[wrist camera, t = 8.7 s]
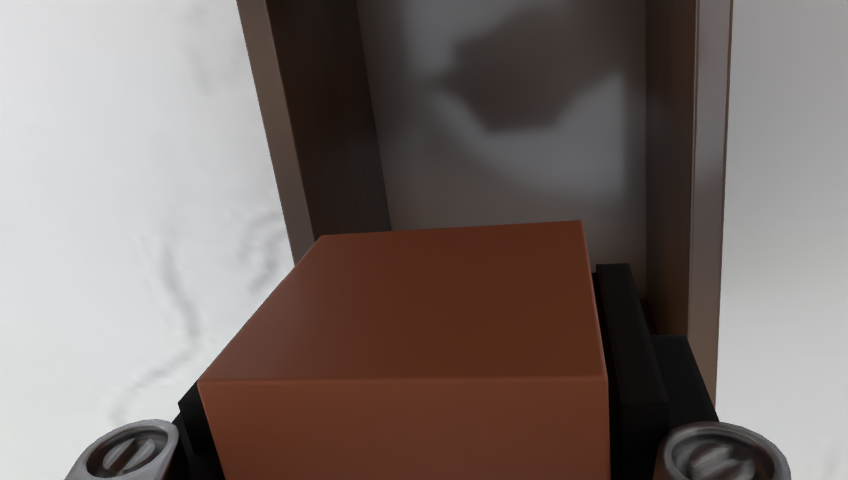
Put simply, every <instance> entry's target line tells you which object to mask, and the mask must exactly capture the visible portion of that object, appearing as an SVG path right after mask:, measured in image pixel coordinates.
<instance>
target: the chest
mask: <svg viewBox="0 0 848 480" xmlns="http://www.w3.org/2000/svg"><path fill="white" fill-rule="evenodd" d="M236 1H237V6H238V10H239V15H240V19H241V24H242V28H243V33H244V37H245V42H246V46H247V51H248V56H249V60H250V65H251V69H252V74H253V78H254V83H255V87H256V92H257V97H258V101H259V106H260V110H261V115H262V119H263V124H264V128H265V133H266V138H267V142H268V147H269V151H270V156H271V160H272V165H273V169H274V174H275V179H276V183H277V188H278V192H279V197H280V201H281V206H282V210H283V215H284V220H285V224H286V229H287V233H288V238H289V242H290V247H291V251H292V256H293V261H294V265H295V266H296V265H297V263H298V262H299V261H300V260H301V259H302V257H303V256H304V255H305V254H306V253H307V252H308V250H309V249H310V248H311V247H312V246H313V245H314V243H315V242H316V241H317V240H318V239H319V238H320V236H322V235H336V234H353V233H370V232H387V231H404V230H420V229H437V228H454V227H471V226H488V225H505V224H522V223H539V222H556V221H573V220H581V221H582V222H583V225H584V231H585V238H586V244H587V250H588V256H589V263H590V269H591V273H594V272H596V264H613V263H629V266H630V269H631V272H632V276H633V279H634V283H635V286H636V290H637V293H638V296H639V300H640V303H641V307H642V310H643V313H644V317H645V320H646V324H647V327H648V331H649V334H650V335H685V336H686V338H687V340H688V342H689V345H690V347H691V350H692V353H693V355H694V358H695V360H696V363H697V365H698V368H699V370H700V373H701V375H702V378H703V381H704V383H705V386H706V388H707V391H708V393H709V396H710V398H711V401H712V404H713V406H714V409H715V405H716V382H717V359H718V337H719V314H720V291H721V269H722V246H723V223H724V201H725V178H726V155H727V133H728V110H729V87H730V65H731V42H732V19H733V0H236Z"/></svg>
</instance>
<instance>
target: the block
mask: <svg viewBox="0 0 848 480" xmlns="http://www.w3.org/2000/svg"><path fill="white" fill-rule="evenodd" d="M197 387H198V390H199V393H200V397H201V400H202V403H203V407H204V410H205V413H206V417H207V420H208V423H209V427H210V430H211V433H212V437H213V440H214V443H215V447H216V450H217V453H218V457H219V460H220V463H221V467H222V470H223V473H224V476H225V480H611V469H610V434H609V398H608V376H607V370H606V364H605V357H604V351H603V345H602V338H601V332H600V326H599V320H598V313H597V307H596V301H595V294H594V288H593V282H592V275H591V269H590V263H589V256H588V250H587V244H586V238H585V231H584V225H583V222H582V221H581V220H573V221H556V222H539V223H522V224H505V225H488V226H471V227H454V228H437V229H420V230H404V231H387V232H370V233H353V234H336V235H322V236H320V238H319V239H318V240H317V241H316V242H315V243H314V245H313V246H312V247H311V248H310V249H309V250H308V252H307V253H306V254H305V255H304V256H303V257H302V259H301V260H300V261H299V262H298V263H297V265H296V266H295V267H294V268H293V269H292V270H291V272H290V273H289V274H288V275H287V276H286V277H285V279H284V280H283V281H282V282H281V283H280V284H279V286H278V287H277V288H276V289H275V290H274V291H273V293H272V294H271V295H270V296H269V297H268V298H267V300H266V301H265V302H264V303H263V304H262V306H261V307H260V308H259V309H258V310H257V311H256V313H255V314H254V315H253V316H252V317H251V318H250V320H249V321H248V322H247V323H246V324H245V325H244V327H243V328H242V329H241V330H240V331H239V332H238V334H237V335H236V336H235V337H234V338H233V339H232V341H231V342H230V343H229V344H228V345H227V347H226V348H225V349H224V350H223V351H222V352H221V354H220V355H219V356H218V357H217V358H216V359H215V361H214V362H213V363H212V364H211V365H210V366H209V368H208V369H207V370H206V371H205V372H204V373H203V375H202V376H201V377H200V378H199V379H198V382H197Z"/></svg>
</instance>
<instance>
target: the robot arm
mask: <svg viewBox="0 0 848 480" xmlns="http://www.w3.org/2000/svg"><path fill="white" fill-rule="evenodd" d="M591 275H592V282H593V288H594V294H595V301H596V307H597V313H598V320H599V326H600V332H601V338H602V345H603V351H604V357H605V364H606V370H607V376H608V398H609V434H610V469H611V480H791V472H790V468H789V465H788V462H787V460H786V457H785V456H784V455H783V454H782V452H781V451H780V450H779V449H778V448H777V447H776V445H775V444H773V443H772V442H770V441H769V440H767V439H766V438H764V437H763V436H762V435H760V434H758V433H756V432H753V431H751V430H749V429H746V428H744V427H741V426H737V425H733V424H729V423H724V422H720V421H719V419H718V416H717V414H716V411H715V409H714V406H713V404H712V401H711V398H710V396H709V393H708V391H707V388H706V386H705V383H704V381H703V378H702V375H701V373H700V370H699V368H698V365H697V363H696V360H695V358H694V355H693V353H692V350H691V347H690V345H689V342H688V340H687V338H686V336H685V335H650V334H649V331H648V327H647V324H646V320H645V317H644V313H643V310H642V307H641V303H640V300H639V296H638V293H637V290H636V286H635V283H634V279H633V276H632V272H631V269H630V266H629V263H613V264H596V272H594V273H591ZM282 281H283V280H282ZM278 286H279V285H278ZM278 286H277V287H278ZM277 287H276V288H277ZM272 293H273V292H272ZM272 293H271V294H272ZM271 294H270V295H271ZM266 300H267V299H266ZM266 300H265V301H266ZM265 301H264V302H265ZM261 306H262V305H261ZM261 306H260V307H261ZM260 307H259V308H260ZM259 308H258V309H259ZM255 313H256V312H255ZM255 313H254V314H255ZM254 314H253V315H254ZM253 315H252V316H253ZM249 320H250V319H249ZM249 320H248V321H249ZM248 321H247V322H248ZM247 322H246V323H247ZM243 327H244V326H243ZM243 327H242V328H243ZM242 328H241V329H242ZM237 334H238V333H237ZM237 334H236V335H237ZM236 335H235V336H236ZM231 341H232V340H231ZM231 341H230V342H231ZM230 342H229V343H230ZM226 347H227V346H226ZM226 347H225V348H226ZM225 348H224V349H225ZM224 349H223V350H224ZM220 354H221V353H220ZM220 354H219V355H220ZM219 355H218V356H219ZM218 356H217V357H218ZM214 361H215V360H214ZM214 361H213V362H214ZM213 362H212V363H213ZM212 363H211V364H212ZM208 368H209V367H208ZM208 368H207V369H208ZM207 369H206V370H207ZM206 370H205V371H206ZM202 375H203V374H202ZM202 375H201V376H202ZM201 376H200V377H201ZM197 382H198V380H197V381H196V382H195V383H194V385H193V386H192V387H191V388H190V389H189V390H188V392H187V393H186V394H185V395H184V396H183V397H182V399H181V400H180V401H179V402H178V406H179V409H180V413H179V414H178V416H177V417H176V418H175V419H174V420H173V422H172V423H170V422H169V421H164V420H159V419H154V420H142V421H138V422H134V423H130V424H127V425H124V426H122V427H119V428H117V429H114V430H112V431H111V432H109V433H107V434H105V435H104V436H102V437H100V438H99V439H97V440H96V441H95V442H94V443H92V444H91V445H90V446H88V447H87V448H86V449H85V451H84V452H83V453H82V454H81V455H80V457H79V458H78V459H77V461H76V462H75V464H74V466H73V467H72V469H71V470H70V472H69V473H68V475H67V477H66V478H65V480H225V476H224V473H223V470H222V467H221V463H220V460H219V457H218V453H217V450H216V447H215V443H214V440H213V437H212V433H211V430H210V427H209V423H208V420H207V417H206V413H205V410H204V407H203V403H202V400H201V397H200V393H199V390H198V387H197Z"/></svg>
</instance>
